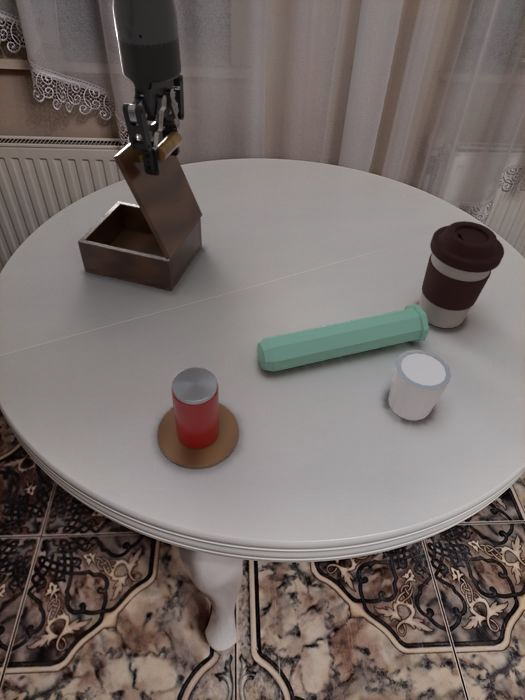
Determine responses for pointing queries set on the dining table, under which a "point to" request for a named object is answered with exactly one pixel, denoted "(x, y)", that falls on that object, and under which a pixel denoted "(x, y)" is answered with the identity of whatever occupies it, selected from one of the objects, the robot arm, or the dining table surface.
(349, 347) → the container
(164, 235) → the lid
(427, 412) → the white short cylinder
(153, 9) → the robot arm
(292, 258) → the dining table surface
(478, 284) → the coffee cup
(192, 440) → the can
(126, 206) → the chest
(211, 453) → the coaster
